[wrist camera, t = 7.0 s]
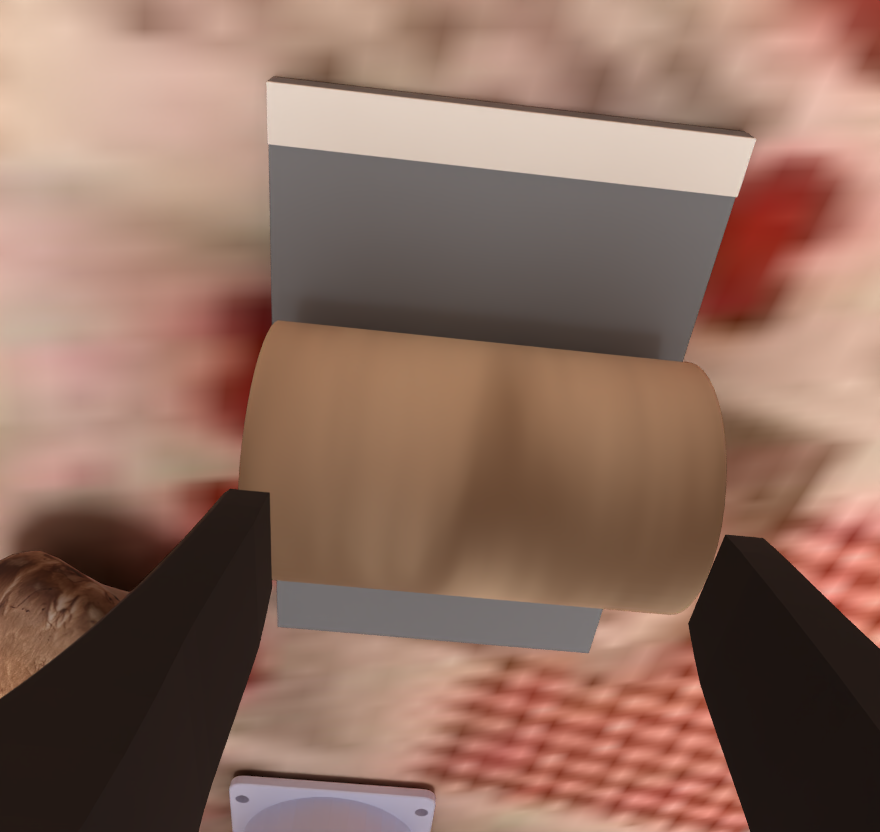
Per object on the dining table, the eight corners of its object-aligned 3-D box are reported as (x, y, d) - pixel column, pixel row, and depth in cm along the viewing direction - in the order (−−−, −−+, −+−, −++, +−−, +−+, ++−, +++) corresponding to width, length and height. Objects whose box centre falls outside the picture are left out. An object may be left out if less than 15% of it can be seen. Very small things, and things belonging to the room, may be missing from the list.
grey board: (585, 638, 24) (589, 655, 24) (281, 612, 24) (276, 629, 23) (744, 131, 16) (755, 139, 15) (273, 76, 15) (266, 82, 15)
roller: (618, 502, 20) (668, 670, 16) (293, 472, 20) (243, 635, 15) (674, 320, 17) (756, 459, 13) (292, 279, 17) (231, 408, 12)
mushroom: (292, 623, 19) (88, 836, 16) (276, 696, 26) (128, 859, 22) (86, 438, 21) (-141, 595, 17) (119, 550, 27) (-42, 681, 24)
